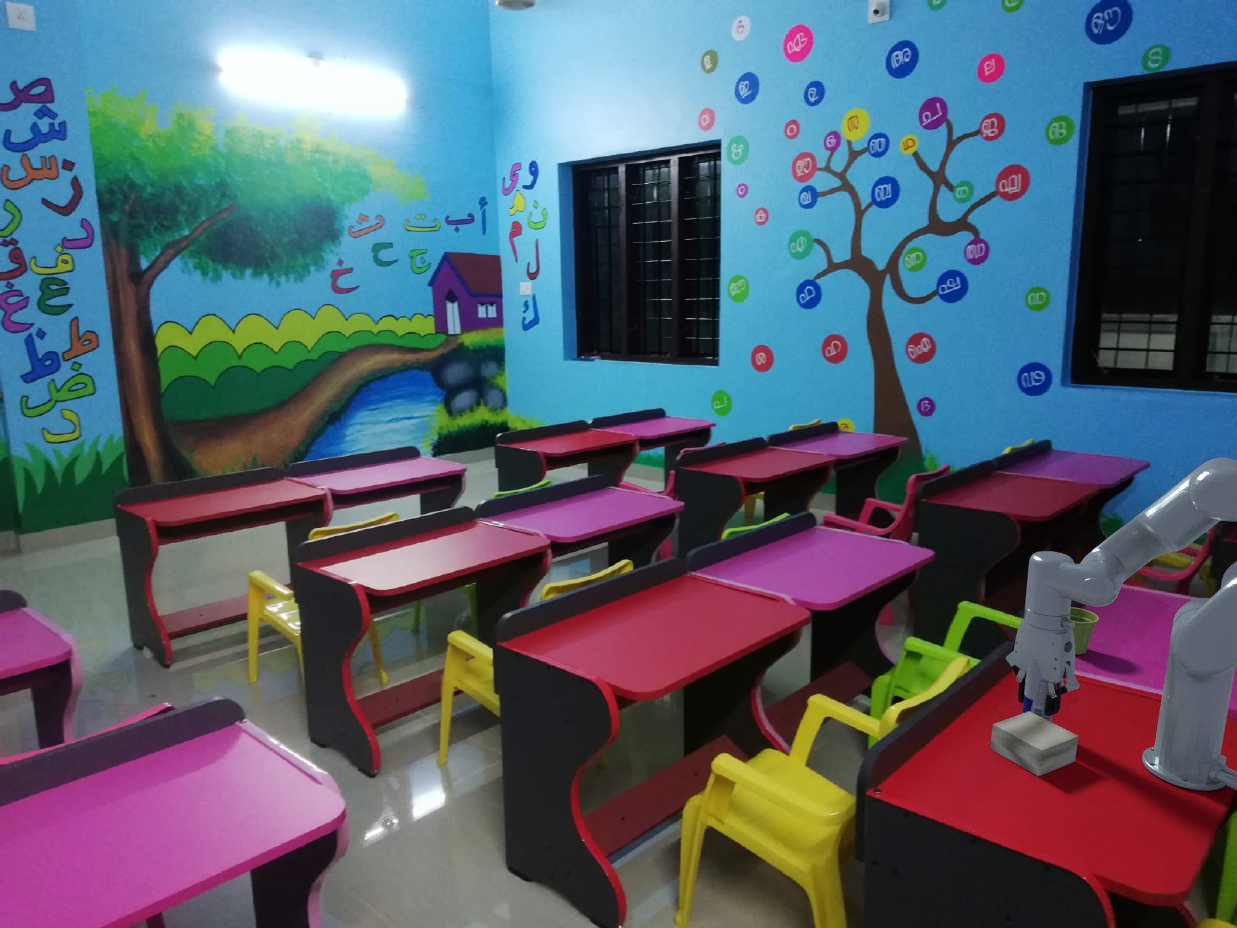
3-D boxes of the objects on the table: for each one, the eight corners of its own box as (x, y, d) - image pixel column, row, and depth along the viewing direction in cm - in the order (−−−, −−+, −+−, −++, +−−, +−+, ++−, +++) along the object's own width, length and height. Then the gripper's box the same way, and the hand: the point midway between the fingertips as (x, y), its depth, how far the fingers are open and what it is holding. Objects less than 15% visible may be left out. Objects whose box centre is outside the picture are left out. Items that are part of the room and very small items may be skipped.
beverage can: (1044, 721, 169) (1051, 649, 166) (1055, 735, 164) (1062, 661, 161) (1017, 720, 170) (1024, 649, 166) (1026, 734, 165) (1033, 660, 161)
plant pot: (1039, 645, 204) (1043, 610, 202) (1067, 638, 208) (1071, 603, 206) (1075, 661, 195) (1079, 625, 194) (1103, 653, 199) (1108, 618, 197)
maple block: (1075, 761, 156) (1078, 735, 155) (1038, 776, 152) (1041, 750, 151) (1026, 735, 165) (1029, 711, 164) (990, 748, 160) (992, 724, 159)
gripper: (1102, 629, 156) (1092, 722, 160) (1020, 599, 171) (1012, 684, 175) (1076, 638, 153) (1066, 732, 157) (994, 607, 168) (986, 693, 172)
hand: (1038, 706), depth 166 cm, fingers closed on beverage can, 5 cm apart
